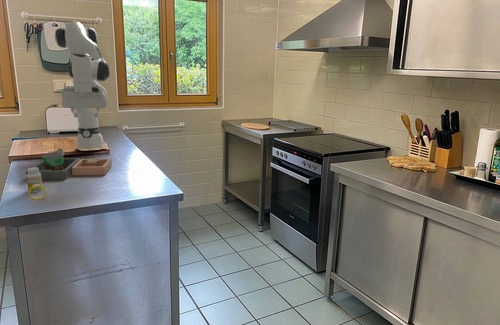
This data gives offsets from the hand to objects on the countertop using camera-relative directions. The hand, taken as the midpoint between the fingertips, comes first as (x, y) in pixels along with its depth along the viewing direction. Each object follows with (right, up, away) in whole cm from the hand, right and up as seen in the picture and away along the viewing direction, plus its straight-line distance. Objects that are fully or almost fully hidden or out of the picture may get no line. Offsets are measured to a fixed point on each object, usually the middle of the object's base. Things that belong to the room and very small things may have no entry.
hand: (86, 117), depth 179 cm
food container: (-17, -26, +6) cm, 32 cm away
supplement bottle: (-11, -34, -23) cm, 43 cm away
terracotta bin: (0, -26, +7) cm, 27 cm away
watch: (-5, -37, -32) cm, 49 cm away
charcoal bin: (-16, -27, +3) cm, 31 cm away
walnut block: (0, -26, +7) cm, 27 cm away
